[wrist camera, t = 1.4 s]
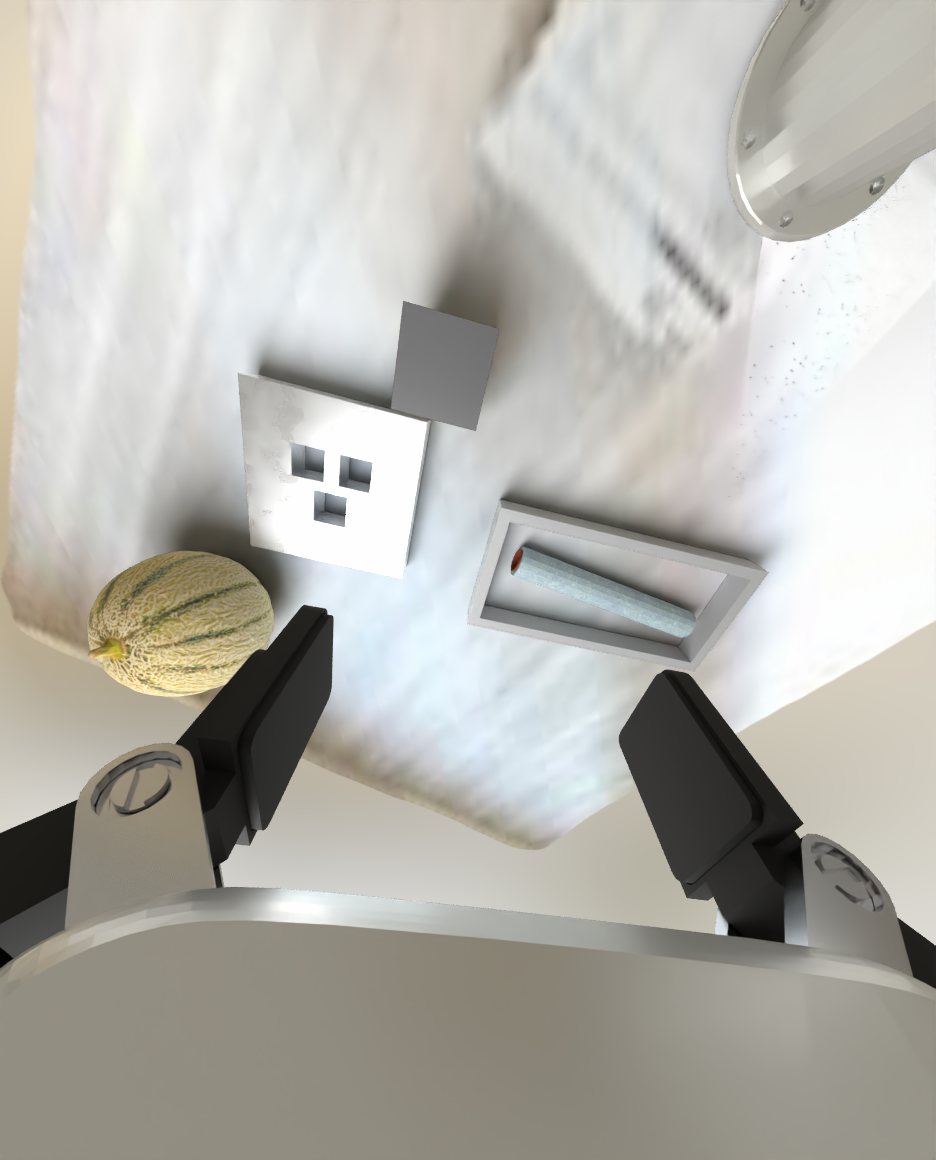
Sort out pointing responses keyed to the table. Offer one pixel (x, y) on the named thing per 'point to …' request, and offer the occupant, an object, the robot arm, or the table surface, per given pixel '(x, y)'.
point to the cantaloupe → (179, 623)
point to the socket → (330, 474)
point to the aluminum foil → (601, 592)
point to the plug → (442, 366)
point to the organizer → (713, 617)
